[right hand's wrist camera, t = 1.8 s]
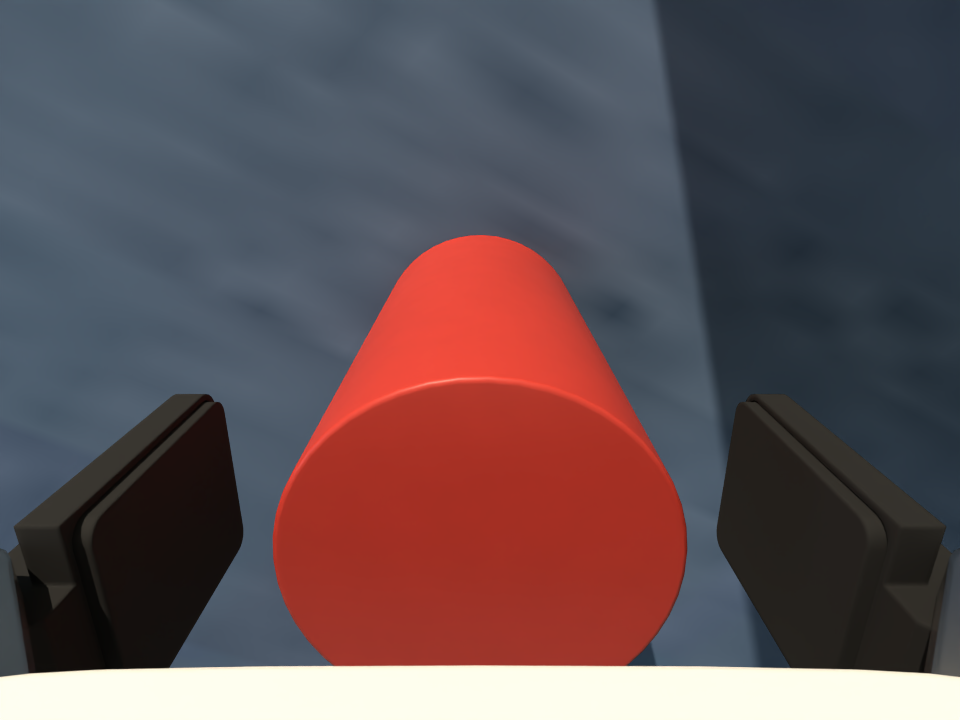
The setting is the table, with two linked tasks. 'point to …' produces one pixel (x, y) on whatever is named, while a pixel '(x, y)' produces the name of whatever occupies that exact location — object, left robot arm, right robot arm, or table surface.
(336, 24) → the table surface
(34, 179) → the table surface
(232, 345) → the table surface
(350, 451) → the can
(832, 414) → the table surface
